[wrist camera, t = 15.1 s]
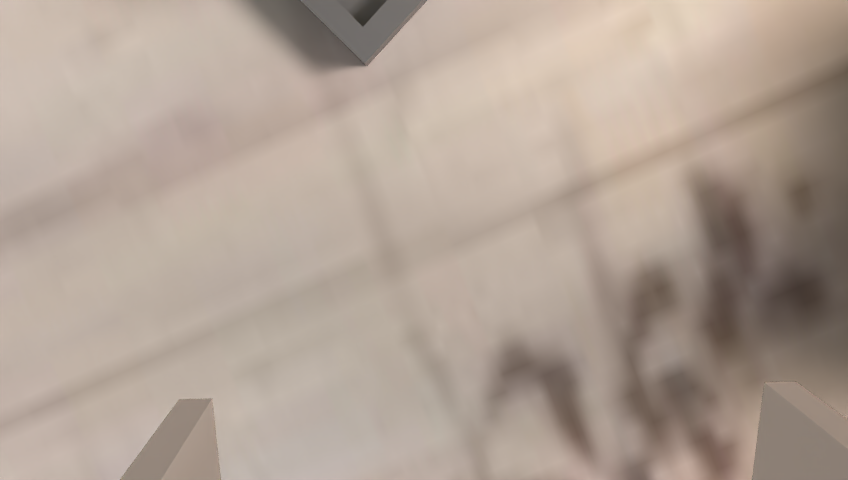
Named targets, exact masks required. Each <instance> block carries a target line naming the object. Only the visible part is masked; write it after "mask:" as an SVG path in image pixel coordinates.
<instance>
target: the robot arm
mask: <svg viewBox="0 0 848 480" xmlns="http://www.w3.org/2000/svg"><path fill="white" fill-rule="evenodd" d="M120 480H221V477H220V467H219V458H218V449H217V439H216V430H215V420H214V411H213V402H212V399H180V400H178V402H177V403H176V404H175V406H174V407H173V408H172V410H171V411H170V413H169V414H168V415H167V417H166V418H165V419H164V421H163V422H162V423H161V425H160V426H159V428H158V429H157V430H156V432H155V433H154V434H153V436H152V437H151V438H150V440H149V441H148V442H147V444H146V445H145V447H144V448H143V449H142V451H141V452H140V453H139V455H138V456H137V457H136V459H135V460H134V462H133V463H132V464H131V466H130V467H129V468H128V470H127V471H126V472H125V474H124V475H123V476H122V478H121V479H120ZM752 480H848V419H846V418H845V417H844V416H842V415H841V414H840V413H838V412H837V411H836V410H834V409H833V408H831V407H830V406H829V405H827V404H826V403H825V402H823V401H822V400H821V399H819V398H818V397H816V396H815V395H814V394H812V393H811V392H810V391H808V390H807V389H806V388H804V387H803V386H801V385H800V384H799V383H797V382H796V381H788V382H764V389H763V396H762V404H761V412H760V420H759V428H758V436H757V444H756V452H755V460H754V468H753V476H752Z"/></svg>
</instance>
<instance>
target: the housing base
mask: <svg viewBox="0 0 848 480" xmlns="http://www.w3.org/2000/svg"><path fill="white" fill-rule="evenodd" d="M300 1H301V2H302V3H303V4H304V5H305V6H306V7H307V8H308V9H309V10H310V11H311V12H312V13H313V14H314V15H315V16H317V17H318V18H319V19H320V20H321V21H322V22H323V23H324V24H325V25H326V26H327V27H328V28H329V29H330V30H331V31H332V32H333V33H334V34H335V35H336V36H337V37H338V38H339V39H340V40H341V41H342V42H343V43H344V44H345V45H346V46H347V47H348V48H349V49H350V50H351V51H352V52H353V53H354V54H355V55H356V56H357V57H358V58H359V59H360V60H361V61H362V62H363V63H364V64H365V65H368V64H369V63H370V62H371V61H372V60H373V59H374V58H375V57H376V56H377V54H378V53H379V52H380V51H381V50H382V49H383V48H384V47H385V46H386V45H387V44H388V42H389V41H390V40H391V39H392V38H393V37H394V36H395V35H396V34H397V33H398V32H399V30H400V29H401V28H402V27H403V26H404V25H405V24H406V23H407V22H408V21H409V20H410V18H411V17H412V16H413V15H414V14H415V13H416V12H417V11H418V10H419V9H420V8H421V6H422V5H423V4H424V3H425V2H426V1H427V0H300Z"/></svg>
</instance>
